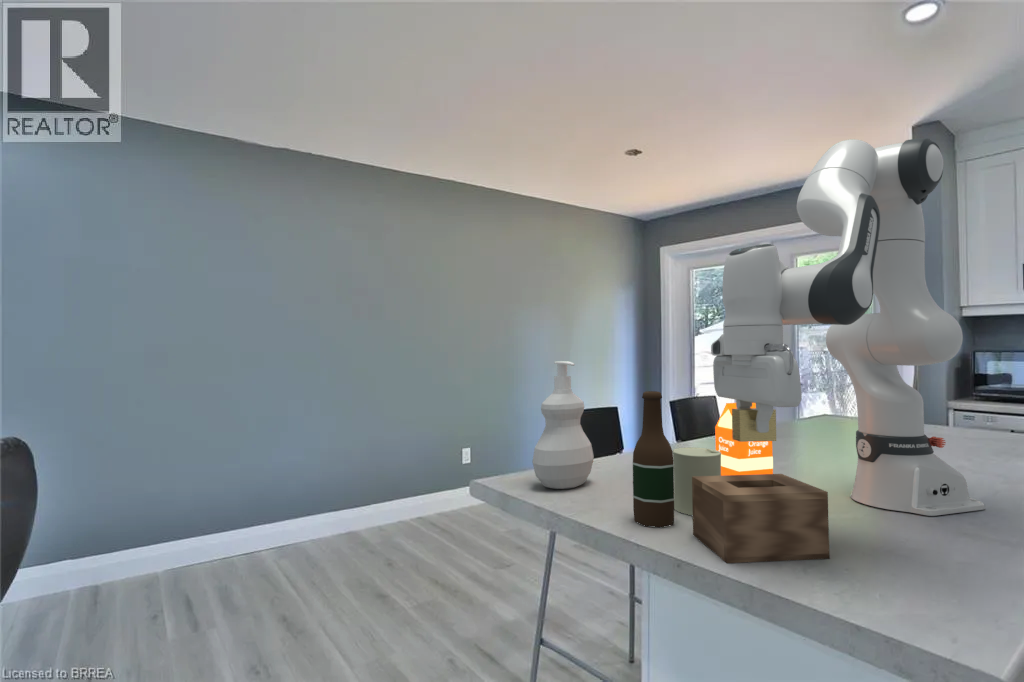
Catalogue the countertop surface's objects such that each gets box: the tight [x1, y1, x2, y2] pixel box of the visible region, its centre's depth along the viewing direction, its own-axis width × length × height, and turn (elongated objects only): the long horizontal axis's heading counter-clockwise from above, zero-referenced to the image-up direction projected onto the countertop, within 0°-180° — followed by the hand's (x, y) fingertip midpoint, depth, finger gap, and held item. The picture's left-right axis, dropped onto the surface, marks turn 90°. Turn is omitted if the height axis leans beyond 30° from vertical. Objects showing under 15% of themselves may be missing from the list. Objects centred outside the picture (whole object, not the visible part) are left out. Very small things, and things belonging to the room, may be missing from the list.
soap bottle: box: [532, 360, 595, 490], centre depth 125 cm, size 17×12×29 cm
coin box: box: [692, 473, 830, 564], centre depth 85 cm, size 16×12×10 cm
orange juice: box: [714, 402, 774, 476], centre depth 116 cm, size 8×9×20 cm
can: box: [672, 446, 721, 516], centre depth 105 cm, size 9×9×12 cm
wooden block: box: [732, 408, 777, 442], centre depth 85 cm, size 6×2×5 cm, turn 94°
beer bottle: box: [632, 390, 675, 528], centre depth 98 cm, size 8×8×24 cm
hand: (754, 430), depth 85 cm, fingers closed on wooden block, 2 cm apart
